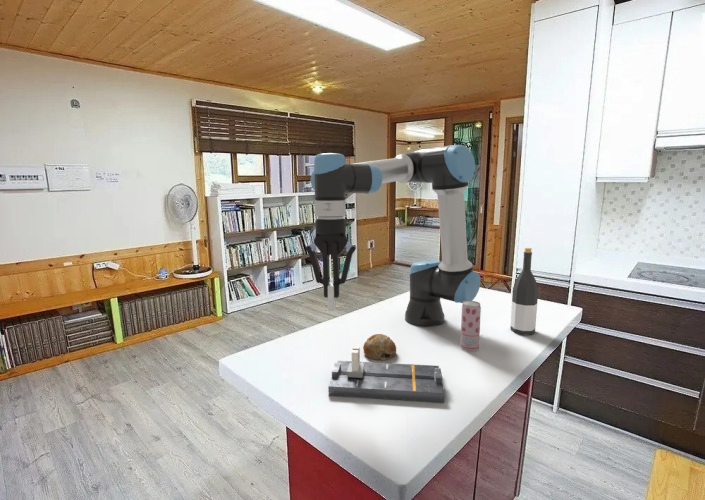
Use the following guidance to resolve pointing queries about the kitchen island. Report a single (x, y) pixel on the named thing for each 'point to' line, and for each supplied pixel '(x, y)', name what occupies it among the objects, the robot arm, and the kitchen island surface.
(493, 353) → the kitchen island surface
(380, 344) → the bread roll
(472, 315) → the beverage can
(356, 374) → the fader
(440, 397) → the console
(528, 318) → the wine bottle
